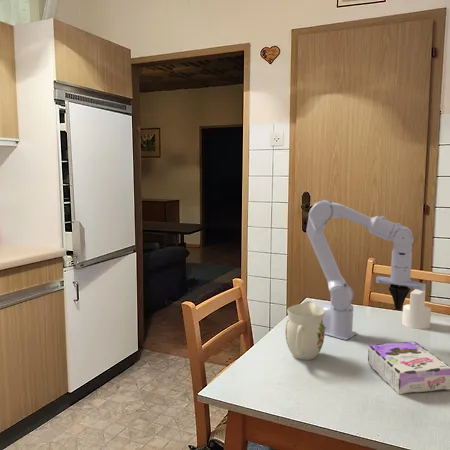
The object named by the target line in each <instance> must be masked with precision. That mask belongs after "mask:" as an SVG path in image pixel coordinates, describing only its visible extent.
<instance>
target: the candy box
mask: <svg viewBox="0 0 450 450" xmlns="http://www.w3.org/2000/svg"><path fill="white" fill-rule="evenodd" d="M367 349H368V353H367V364H368V366H370V367H371V368H372V369H373V370H374V371H375V372H376V373H377V374H378V376H380V377H381V378H382V379H383V380H384V381H385V382H386V384H388V385H389V387H391V388H392V389H393V390H394V391H395V392H396V393H397V394H398V395H403V394H412V393H422V392H423V393H424V392H434V391H444V390H450V365H448V364H447V363H446V362H445V361H443V360H442V359H440V358H439V357H437V356H436V355H434V354H433V353H431V352H430V351H429V350H428V349H426V348H425V347H423V346H422V345H420V344H419V343H418V342H416V341H414V340H413V341H401V342H389V343H379V344H378V343H377V344H369V345H368V348H367Z"/></svg>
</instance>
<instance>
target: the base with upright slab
mask: <svg viewBox="0 0 450 450" xmlns="http://www.w3.org/2000/svg"><path fill="white" fill-rule="evenodd" d="M426 290H427V289H425V291H420V290H417V289H413V290H412V291H411V292H409V293H410V296H409V304H408V303H407V304H403V306H402V317H401V319H402V320H401V323H402V325H403V326H405V327H408V328H411V329H414V330H415V329H416V330H427V329H429V328H431V318H432V309H431V307H428V306H426V305H425V304H426V303H425V302H426Z"/></svg>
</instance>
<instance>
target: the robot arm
mask: <svg viewBox="0 0 450 450" xmlns="http://www.w3.org/2000/svg"><path fill="white" fill-rule="evenodd" d="M331 218H332V219H342V218H343V219H345V220H348V221H350V222H352V223H355V224H357V225H360V226H364V227H366V228H367V230H368V233H369V234H371V235H374V236H376V237H378V238H381V239H382V240H385V241H388V242H391V241H392V242H393V248H392V250H391V264H390V276H381V275H377V276H376V277H375V283H376V284H383V285H388V286H389V287H388V291H389V292H390V295H391V297H392V300H393V305H394V309H395V310H396V311H402V310H403V306H404V303H405V301H406V298H407V296H408V295H409V293H410V291H411V290H412V289H413V290H415V289H417V290H420V291H425V292H426V290H427V289H426V287H427V284H426V283H423V282H419V281H414V280H413V279H412V280H411V274H412V260H413V259H412V258H413V251H412V250H413V243H414V242H415V241H414V240H415V239H414V235H413V232H412V229H410V228H409V227H407V226H406V225H402V224H401V223H400V222H397V223H395V222H393V221H390V220H388V219H386V218H387V217H386V216H383V215H381V216H379V215H376V216H373V217H371V216H368V215H366V214H364V213H361V212H360V211H357V210H355V209H354V208H350V207H348V206H346V205H343V204H341V203H338V202H333V201H331V200H329V199H322V200H319V201H317V202H315V203H314V204H313V205H312V206H311V208H310V209H309V212H308V219H307V225H306V232H305V233H306V235H307V237H308V239H309V242H310V244H311V247H312V249H313V251H314V253H315V256H316V259H317V261H318V262H319V265H320V268H321V270H322V273H323V275H324V277H325V279H326V282H327V285H328V291H329V294H330V304H326V305H324V307H323V308H322V309H323V310H324V316H323V320H322V321H323V324H324V330H325V335H326V336H330V337H333V338H337V339H341V340H345V341H346V340H350V339H351V338H352V337H354V336H355V335H358V332H356V331H353V321H354V306H353V305H352V300H353V298H354V291H353V288H352V287H351V286H349V284H347V282H346V279H345V278H344V277H343V276H342V274H341V271H340V269H339V266H338V263H337V261H336V259H335V257H334V254H333V251H332V250H331V248H330V245H329V243H328V240H327V239H326V236H325V234H324V229H325V227H326V225H327V223H328V222H329V220H331ZM425 289H426V290H425ZM395 310H394V311H395ZM325 335H324V336H325Z"/></svg>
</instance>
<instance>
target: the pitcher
mask: <svg viewBox="0 0 450 450" xmlns="http://www.w3.org/2000/svg"><path fill="white" fill-rule="evenodd" d="M286 310H287V316H288V319H287V322H286V325H285V340H286V344H287V347H288V350H289V351H290V353H291V355H292V356H293V357H294V358H295V359H297V360H298V359H299V360H305V361H306V360H307V361H310V360H313V359H316V357H318V355H319V353H320V352H321V350H322V348H323V345H324V340H325V330H324V324H323V321H322V320H323V316H324V310H323V308H322V307H320V306H319V305H318V304H316V303H315V302H314V301H312V300H307V301H303V302H301V303H298V304H293V305H291V306H289V307H288V308H287V309H286Z"/></svg>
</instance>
